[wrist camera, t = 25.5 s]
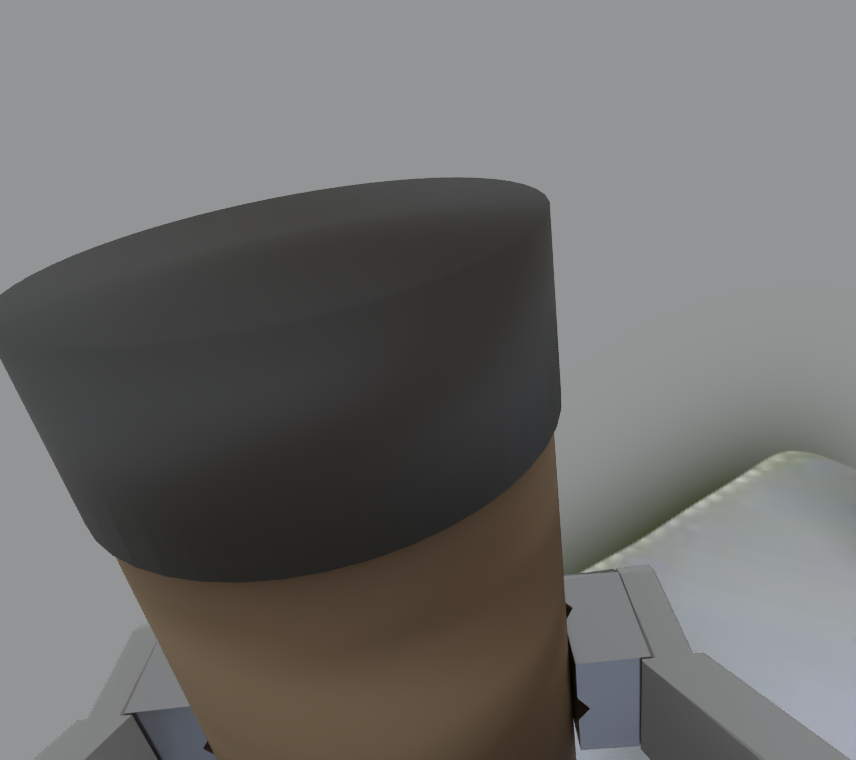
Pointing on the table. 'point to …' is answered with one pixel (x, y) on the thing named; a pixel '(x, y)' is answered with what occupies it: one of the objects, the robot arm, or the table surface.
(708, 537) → the table surface
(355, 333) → the capped cylinder
